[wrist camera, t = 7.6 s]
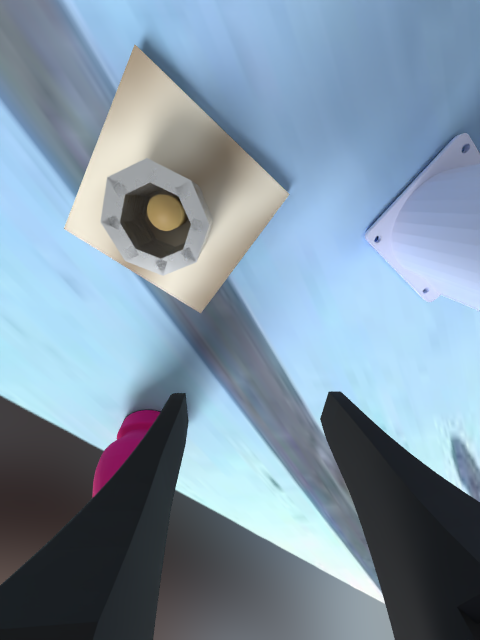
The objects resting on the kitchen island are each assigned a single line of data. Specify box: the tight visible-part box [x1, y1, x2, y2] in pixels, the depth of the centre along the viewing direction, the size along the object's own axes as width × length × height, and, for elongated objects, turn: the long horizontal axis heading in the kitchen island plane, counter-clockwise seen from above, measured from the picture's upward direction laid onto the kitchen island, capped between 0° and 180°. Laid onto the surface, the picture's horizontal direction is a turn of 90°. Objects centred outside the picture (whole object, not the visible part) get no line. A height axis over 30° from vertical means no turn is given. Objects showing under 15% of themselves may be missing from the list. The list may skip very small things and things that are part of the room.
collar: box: [101, 158, 213, 276], centre depth 13 cm, size 5×5×4 cm
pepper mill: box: [93, 410, 160, 497], centre depth 17 cm, size 7×7×20 cm
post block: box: [64, 45, 289, 313], centre depth 14 cm, size 11×11×4 cm
